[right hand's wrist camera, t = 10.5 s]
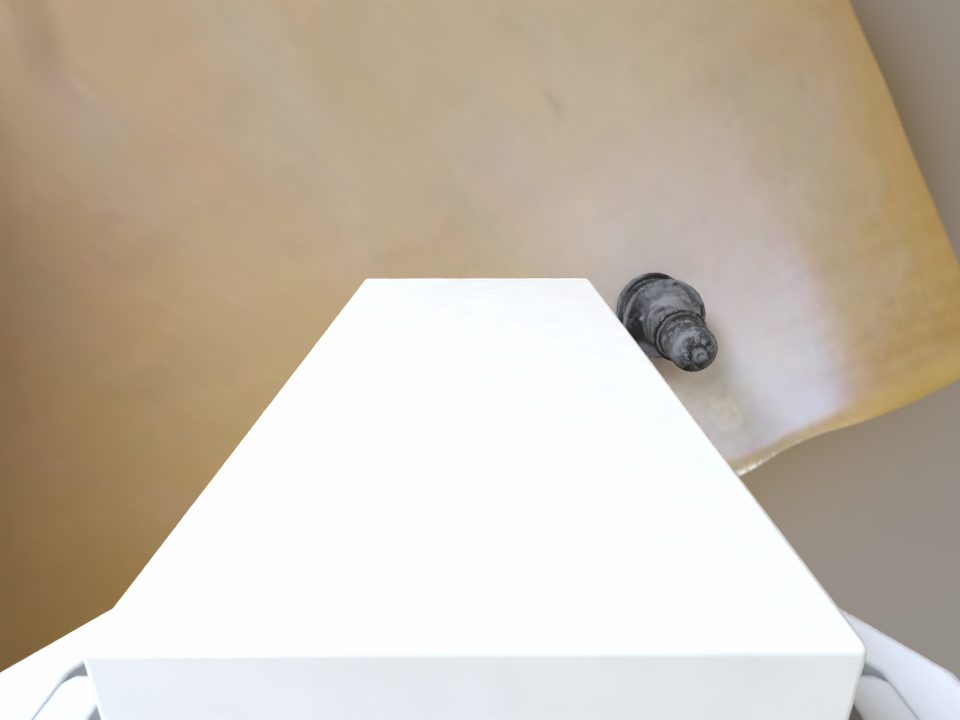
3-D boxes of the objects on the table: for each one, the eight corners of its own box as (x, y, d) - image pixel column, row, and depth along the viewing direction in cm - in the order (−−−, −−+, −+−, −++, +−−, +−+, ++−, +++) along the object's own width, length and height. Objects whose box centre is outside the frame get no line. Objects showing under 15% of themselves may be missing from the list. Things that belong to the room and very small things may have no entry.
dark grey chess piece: (705, 298, 47) (775, 350, 36) (654, 356, 49) (706, 423, 37) (648, 253, 46) (702, 291, 35) (597, 314, 47) (633, 370, 36)
